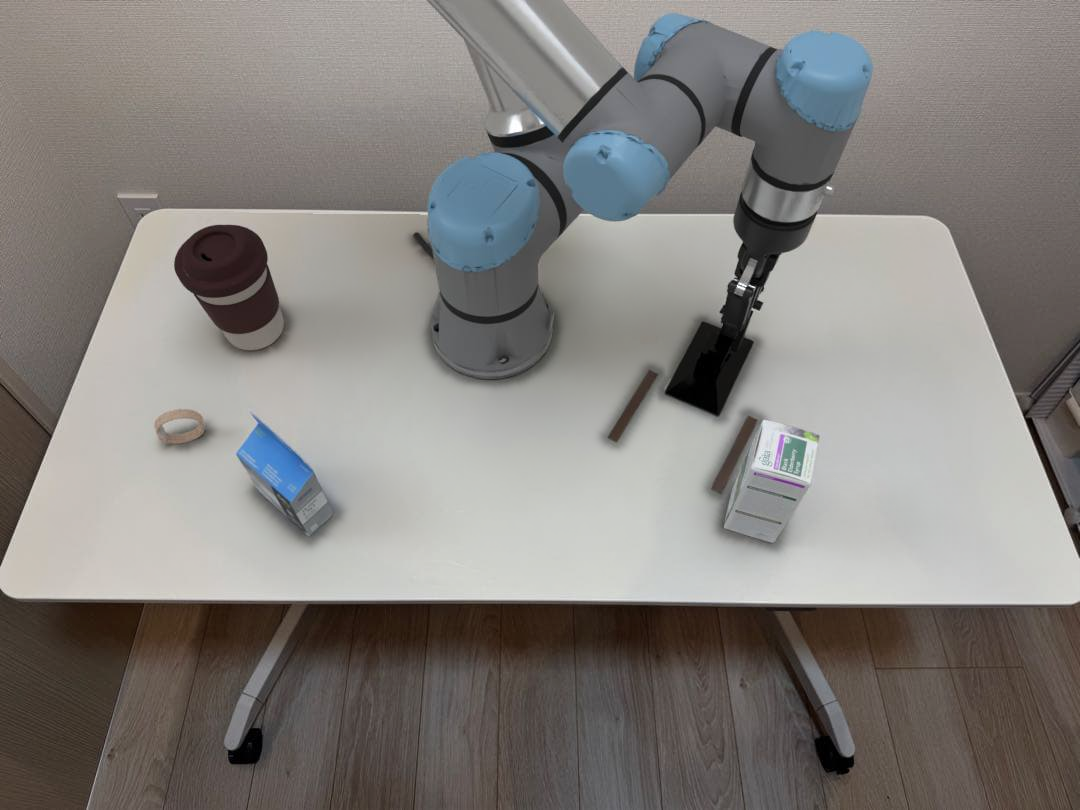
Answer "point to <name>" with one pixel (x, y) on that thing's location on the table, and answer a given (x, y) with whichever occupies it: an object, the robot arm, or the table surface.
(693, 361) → the build plate
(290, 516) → the label tape box
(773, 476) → the syrup box
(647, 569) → the table surface
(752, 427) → the strips
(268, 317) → the coffee cup
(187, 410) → the beige hollow ring
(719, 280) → the table surface
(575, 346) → the table surface
